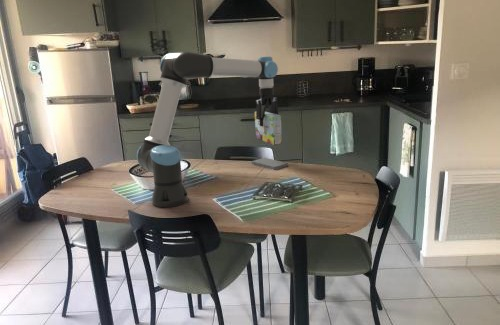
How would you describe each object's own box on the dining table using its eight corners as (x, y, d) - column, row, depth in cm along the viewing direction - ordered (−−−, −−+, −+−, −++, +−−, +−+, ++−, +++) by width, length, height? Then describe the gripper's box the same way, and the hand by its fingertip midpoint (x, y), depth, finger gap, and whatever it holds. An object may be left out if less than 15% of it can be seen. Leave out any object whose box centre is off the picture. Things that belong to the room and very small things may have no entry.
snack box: (254, 138, 223) (253, 111, 219) (263, 137, 226) (263, 110, 222) (273, 145, 205) (272, 116, 201) (282, 144, 207) (282, 114, 203)
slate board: (287, 165, 215) (287, 163, 215) (274, 169, 209) (274, 167, 209) (265, 160, 229) (264, 157, 228) (251, 164, 222) (251, 161, 222)
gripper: (274, 85, 217) (276, 127, 223) (247, 88, 204) (249, 133, 211) (284, 85, 211) (285, 128, 217) (257, 89, 199) (259, 134, 205)
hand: (268, 130), depth 214 cm, fingers closed on snack box, 7 cm apart
